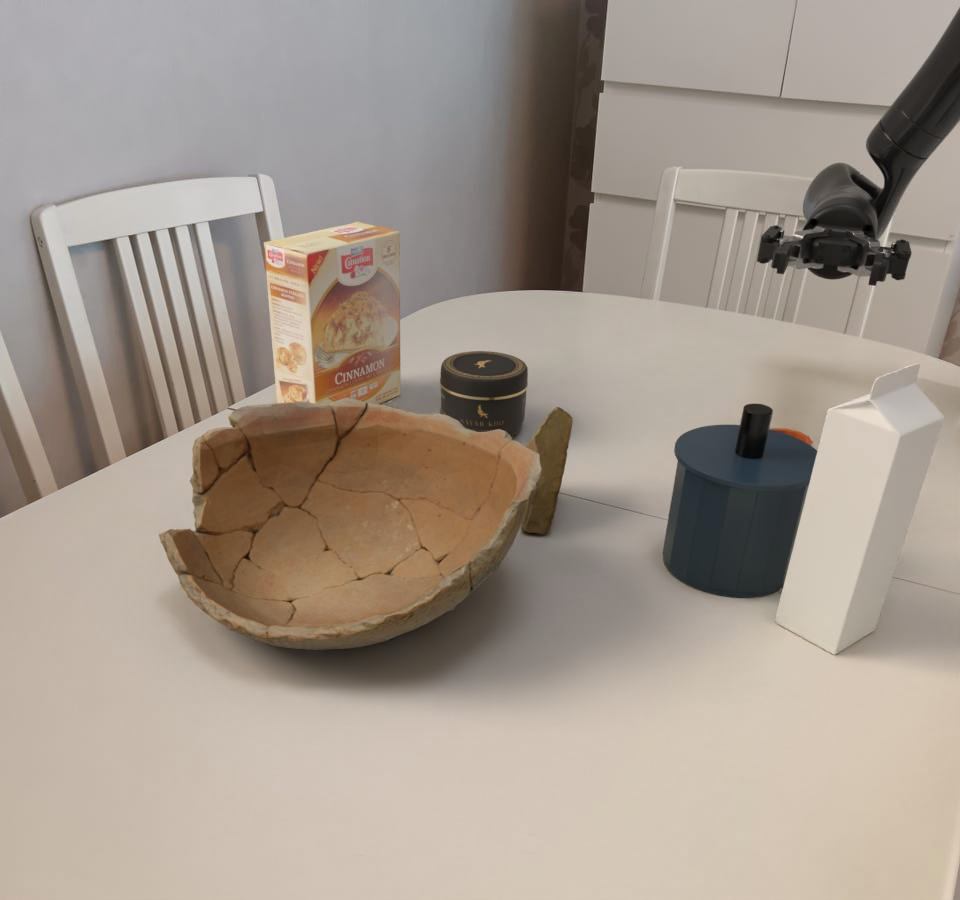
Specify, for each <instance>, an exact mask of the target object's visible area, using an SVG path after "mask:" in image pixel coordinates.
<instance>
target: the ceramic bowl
mask: <svg viewBox="0 0 960 900" xmlns="http://www.w3.org/2000/svg"><path fill="white" fill-rule="evenodd" d="M227 417H228V421H229V425H230V426H229V427H228V426H227V427H225V426H221V427H216V428H213V429H209V430H207V431H206V432H204V433H203V434H202V435H201V436H199V437H198V438H196V439H195V440H194V442H193V445H192V463H191V465H192V472H193V473H192V475H191V477H190V480H189V482H190V484H191V487H192V500H191V502H192V505H193V506H194V508H193V511H192V514H193V517H194V527H195V528H194V529H195V530H191V529H192V528H178V529H177V528H176V529H174V528H170V529H168V530H165V531H163V532H161V533H159V534H158V537H159V541H160V544H161V545H162V547H163V549H164V551H165V554H166V558H167V559H168V562H169V564H170V565H171V567H172V569H173V571H174V572H175V573H176V575H177V578H178V580H179V584H180V586H181V587H182V589H183V590H184V592H185V593H186V595H187V597H188V599H190V600H191V601H192V602H193V604H194V605H195V606H196V607H198V608H199V609H200V610H201V611H202V612H204V613H206V614H207V615H208V616H210V618H212V619H213V620H215V621H216V622H218V623H220V624H221V625H222V626H224V627H226V628H227V629H229V631H230V630H231V631H233V632H236V633H238V634H240V635H243V636H244V637H247V638H249V639H251V640H255V641H258V642H261V643H264V644H267V645H271V646H273V647H278V648H287V649H291V650H292V649H293V650H309V651H310V650H311V651H312V650H313V651H316V650H317V651H318V650H319V651H322V650H325V651H326V650H339V649H340V650H341V649H342V650H343V649H354V648H363V647H367V646H371V645H375V644H380V643H384V642H387V641H389V640H391V639H395V638H397V637H399V636H401V635H404V634H406V633H409V632H411V631H414V630H416V629H418V628H420V627H422V626H425V625H427V624H428V623H430V622H432V621H433V620H435V619H437V618H440V617H441V616H442V615H444V614H446V613H448V612H451V611H453V610H455V609H456V607H457V605H458V604H460V603H461V602H462V601H464V600H465V599H466V598H467V597H468V596H470V595H471V594H472V593H473V592H474V591H475V590H477V589H478V588H479V587H480V586H481V585H482V584H483V583H484V582H485V581H486V580H487V579H488V578H489V577H490V576H491V575H492V574H493V572H495V571H496V570H497V569H498V568H499V567H500V566H501V564H502V562H503V560H504V559H505V557H506V555H507V554H508V552H509V551H510V549H511V548H512V546H513V544H514V543H515V540H516V538H517V535H518V533H519V531H520V529H521V527H522V521H523V517H524V512H525V506H526V503H527V501H528V499H529V497H530V495H531V494H532V493H533V491H534V490H535V487H536V485H537V483H538V482H539V480H540V477H541V465H540V457H541V456H540V454H538V453H536V452H534V451H532V450H531V449H529V448H527V447H525V445H523V444H522V443H521V442H519V441H517V440H515V439H513V437H511V436H510V435H509V434H508V433H507V432H506V431H504V430H500V429H497V430H492V431H487V432H476V431H473V430H469V429H466V428H465V427H464V426H463V425H462V424H461V423H460V422H459V421H458V420H456V419H454V418H452V417H450V416H447V415H443V414H441V413H432V414H425V413H418V412H412V411H407V410H404V409H400V408H397V407H392V406H388V405H384V404H382V403H380V404H373V403H366V402H363V401H360V400H357V399H353V398H343V399H340V400H338V401H335V402H332V403H329V404H328V405H319V404H314V403H310V402H292V403H277V402H275V403H264V404H253V405H245V406H241V407H238V408H237V409H235V410H232V412H231V413H230V414H229V415H228V416H227Z"/></svg>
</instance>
